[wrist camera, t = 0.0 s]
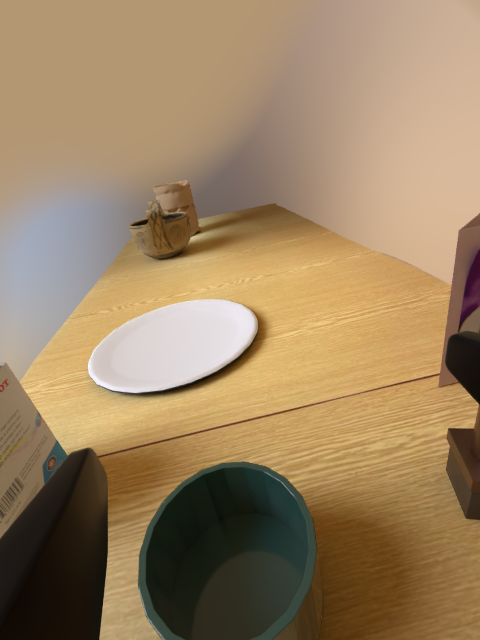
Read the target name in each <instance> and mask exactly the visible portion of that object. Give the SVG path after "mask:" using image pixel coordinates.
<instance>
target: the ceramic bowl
mask: <svg viewBox="0 0 480 640" xmlns="http://www.w3.org/2000/svg"><path fill="white" fill-rule="evenodd" d="M148 204H149V210H146V214H147V217H148V218H145V219H142V220H139V221H136V222H133V223H131V224H130V225H129V227H130V232H131V236H132V239H133V241H134V243H135V244H136V246H137V248H138V249H139V250H140V251H141V252H142V253H144V254H145V255H147V256H149V257H152V258H157V259H164V258H168V257H172V256H175V255H176V254H178V253H179V252H181V251H182V250H183V249H184V248H185V247H186V245H187V244H188V242H189V240H190V236H191V228H190V222H189V219H188V216H187V213H186V212H173V213H167V214H166V213H164V212H163V211H162V209H161V206H160V202H159V200H155V201H150V202H148Z"/></svg>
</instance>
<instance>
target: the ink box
mask: <svg viewBox="0 0 480 640" xmlns="http://www.w3.org/2000/svg"><path fill="white" fill-rule="evenodd" d="M67 457H68V456H67V454H66V453H65V451H64V450H63V448H62V447H61V445H60V444H59V442H58V441H57V440H56V438H55V436H54V435H53V433H52V432H51V430H50V429H49V427H48V426H47V424H46V423H45V421H44V419H43V418H42V417H41V415H40V413H39V412H38V410H37V409H36V407H35V406H34V404H33V403H32V401H31V400H30V398H29V397H28V395H27V394H26V392H25V390H24V389H23V387H22V386H21V384H20V383H19V381H18V380H17V378H16V377H15V375H14V374H13V372H12V371H11V369H10V367H9V366H8V365H7V363H5V362H0V538H1V537H2V535H3V534H4V533H5V532H6V531H7V529H8V528H9V527H10V526H11V525H12V523H13V522H14V521H15V520H16V519H17V517H18V516H19V515H20V514H21V512H22V511H23V510H24V509H25V508H26V506H27V505H28V504H29V503H30V502H31V500H32V499H33V498H34V497H35V495H36V494H37V493H38V492H39V491H40V489H41V488H42V487H43V486H44V485H45V483H46V482H47V481H48V480H49V479H50V477H51V476H52V475H53V474H54V472H55V471H56V470H57V469H58V468H59V466H60V465H61V464H62V463H63V462H64V460H65V459H66V458H67Z"/></svg>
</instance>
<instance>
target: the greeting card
mask: <svg viewBox="0 0 480 640" xmlns="http://www.w3.org/2000/svg"><path fill="white" fill-rule="evenodd" d="M462 331H472V332H478V333H480V213H479V214H478V215H477V216H476V217H475V218H473V219H472V220H471V221H470V222H468V223H467V224H466V225H465V226H464V227H462V228H461V229H460V230H459V235H458V243H457V250H456V258H455V265H454V273H453V281H452V288H451V295H450V303H449V310H448V318H447V326H446V333H445V341H444V348H443V356H442V364H441V371H440V379H439V386H438V387H441V386H445V385H449V384H453V383H457V382H458V381H457V379H456V378H455V377H454V376H453V375H452V374H451V373H450V372H449V371H448V369H447V367H446V365H445V357H446V349H447V342H448V338H449V337H450V336H451V335H453V334H456V333H459V332H462Z"/></svg>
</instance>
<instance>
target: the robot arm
mask: <svg viewBox="0 0 480 640" xmlns="http://www.w3.org/2000/svg"><path fill="white" fill-rule="evenodd" d="M445 365H446V367H447V369H448V371H449V372H450V373H451V374H452V375H453V376H454V377H455V378H456V379H457V381H458V382H459V383H460V384H461V385H462V386H463V387H464V388H465V389H466V390H467V391H468V393H469V394H470V395H471V396H472V397H473V398H474V399H475V400H476V401H477V402H478V404H479V405H480V333H478V332H472V331H462V332H459V333H456V334H453V335H451V336H450V337H449V338H448V342H447V349H446V357H445ZM107 555H108V482H107V475H106V472H105V470H104V468H103V466H102V465H101V463H100V461H99V459H98V457H97V455H96V454H95V452H94V450H93V449H91V448H85V449H82V450H79V451H75V452H73V453H71V454H70V455H69V456H68V457H67V458H66V459H65V460H64V462H63V463H62V464H61V465H60V466H59V468H58V469H57V470H56V471H55V472H54V474H53V475H52V476H51V477H50V479H49V480H48V481H47V482H46V483H45V485H44V486H43V487H42V488H41V489H40V491H39V492H38V493H37V494H36V495H35V497H34V498H33V499H32V500H31V502H30V503H29V504H28V505H27V506H26V508H25V509H24V510H23V511H22V512H21V514H20V515H19V516H18V517H17V519H16V520H15V521H14V522H13V523H12V525H11V526H10V527H9V528H8V529H7V531H6V532H5V533H4V534H3V535H2V537H1V538H0V640H99V636H100V626H101V617H102V607H103V597H104V587H105V578H106V568H107Z"/></svg>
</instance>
